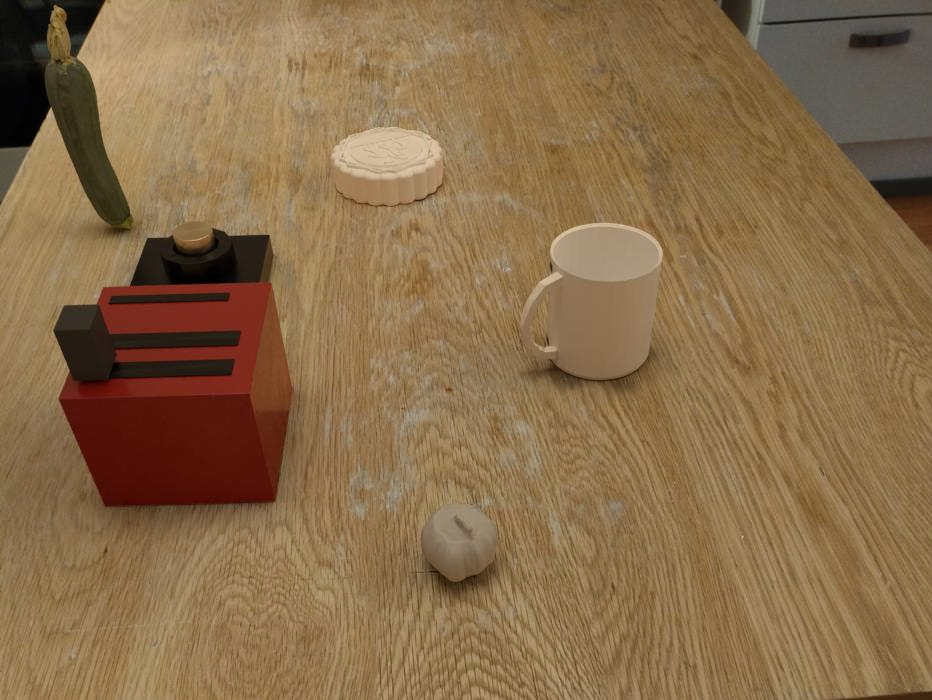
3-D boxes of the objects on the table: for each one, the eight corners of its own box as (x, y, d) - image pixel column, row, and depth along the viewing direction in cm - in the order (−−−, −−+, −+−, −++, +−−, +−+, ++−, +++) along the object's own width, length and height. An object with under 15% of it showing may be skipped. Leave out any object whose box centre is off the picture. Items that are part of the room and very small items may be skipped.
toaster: (104, 507, 73) (57, 397, 65) (140, 393, 82) (102, 285, 74) (275, 502, 73) (248, 392, 65) (292, 389, 82) (271, 280, 74)
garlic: (502, 591, 67) (502, 538, 63) (424, 597, 67) (420, 544, 63) (494, 531, 71) (494, 477, 67) (421, 536, 71) (416, 482, 67)
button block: (133, 315, 89) (120, 275, 86) (153, 258, 96) (141, 219, 93) (262, 311, 89) (253, 271, 86) (273, 255, 96) (266, 216, 93)
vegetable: (106, 245, 98) (31, 22, 82) (86, 229, 100) (9, 9, 84) (145, 229, 99) (79, 9, 84) (124, 214, 101) (57, -4, 86)
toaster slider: (73, 381, 66) (52, 330, 63) (83, 355, 68) (63, 304, 65) (108, 380, 66) (89, 329, 63) (117, 354, 68) (99, 303, 65)
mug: (627, 314, 88) (639, 216, 81) (664, 371, 83) (680, 271, 76) (501, 335, 86) (502, 236, 79) (530, 395, 81) (533, 295, 74)
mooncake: (355, 217, 100) (351, 182, 98) (319, 168, 107) (314, 135, 104) (460, 192, 103) (459, 158, 100) (419, 147, 110) (417, 114, 107)
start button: (174, 259, 89) (169, 241, 87) (180, 239, 91) (175, 221, 90) (213, 258, 89) (208, 240, 87) (218, 238, 91) (214, 220, 90)
